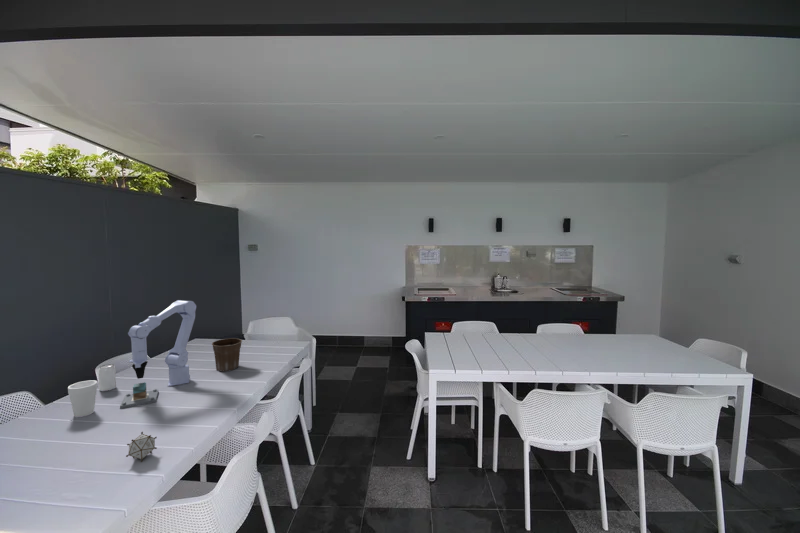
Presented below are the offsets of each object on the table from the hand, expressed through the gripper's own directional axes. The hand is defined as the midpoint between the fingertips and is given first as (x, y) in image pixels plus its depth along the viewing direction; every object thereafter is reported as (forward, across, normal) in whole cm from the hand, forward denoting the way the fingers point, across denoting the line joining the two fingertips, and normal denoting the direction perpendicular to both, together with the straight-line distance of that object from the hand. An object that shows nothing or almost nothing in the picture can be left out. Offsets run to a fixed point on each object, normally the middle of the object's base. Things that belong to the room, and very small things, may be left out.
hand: (140, 377), depth 163 cm
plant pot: (+10, -22, +39) cm, 46 cm away
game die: (+9, +59, +6) cm, 60 cm away
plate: (+9, +4, 0) cm, 10 cm away
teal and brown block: (+8, +4, 0) cm, 9 cm away
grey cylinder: (+10, -20, -16) cm, 27 cm away
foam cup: (+10, +8, -19) cm, 23 cm away
